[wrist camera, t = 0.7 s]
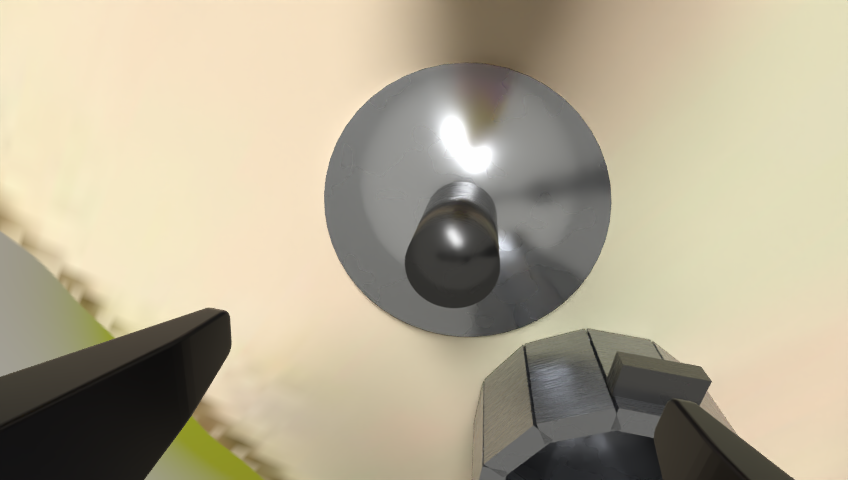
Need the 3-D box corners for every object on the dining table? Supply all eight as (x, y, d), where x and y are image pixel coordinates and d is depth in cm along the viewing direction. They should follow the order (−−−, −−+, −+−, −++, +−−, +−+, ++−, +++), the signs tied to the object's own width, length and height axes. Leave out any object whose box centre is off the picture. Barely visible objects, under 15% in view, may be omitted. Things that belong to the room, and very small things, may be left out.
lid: (646, 85, 16) (727, 93, 10) (565, 347, 20) (592, 445, 15) (336, 43, 17) (266, 31, 11) (325, 303, 21) (271, 380, 16)
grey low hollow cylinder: (757, 331, 18) (847, 417, 14) (652, 536, 24) (692, 648, 19) (505, 286, 19) (510, 353, 15) (457, 493, 25) (450, 591, 20)
